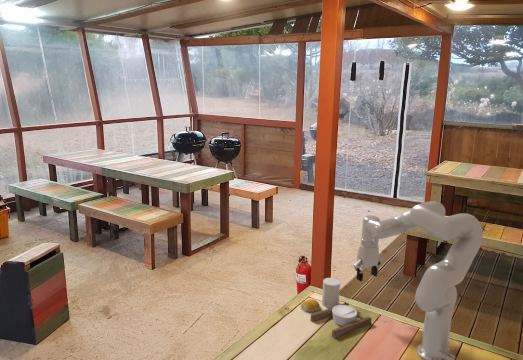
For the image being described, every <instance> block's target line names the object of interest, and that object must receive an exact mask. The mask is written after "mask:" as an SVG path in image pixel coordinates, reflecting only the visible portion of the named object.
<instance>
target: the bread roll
mask: <svg viewBox="0 0 523 360" xmlns="http://www.w3.org/2000/svg"><path fill="white" fill-rule="evenodd" d="M300 309H301V310H302V311H304V312H306V313H315V312H316V311H319V310H320V303H319V302H318V301H317V300H316V299H314V298H313V299H306V300H304V301H302V302H301V303H300Z"/></svg>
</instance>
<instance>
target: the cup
mask: <svg viewBox="0 0 523 360" xmlns="http://www.w3.org/2000/svg"><path fill="white" fill-rule="evenodd" d="M340 289H341V281H340V279H337V278H335V277H326V278H324V279H323V280H322V293H321V294H322V295H321V297H322V298H321V305H322V307H325V308H327V309H329V308H332V307H334V306H337V305H340V304H339V303H340Z"/></svg>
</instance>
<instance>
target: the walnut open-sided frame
mask: <svg viewBox="0 0 523 360" xmlns="http://www.w3.org/2000/svg"><path fill="white" fill-rule="evenodd" d="M340 305H347V306H350V304H349V303H348V302H345V303H341V304H340ZM332 308H333V307H332ZM332 308H327V309H324V310H321V311H318V312H313V313H312V314H310V322H311V323H314V322H317V321H320V320H323V319H325V318H328V317H331V316H332V317H333V313H332ZM356 318H359V319H358V320H355V322H353V323H350V324H347V325H345V326H340V327H337V328H334V329H332V332H331V337H332V338H333V339H335V338H339V337H341V336H343V335H346V334H349V333H351V332H354V331H356V330H359V329H362V328H364V327H367V326H369V325H372V317H371V316H366V317H364V316H363V315H361V314H359V313H358V312H357V316H356Z"/></svg>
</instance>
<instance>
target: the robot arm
mask: <svg viewBox="0 0 523 360" xmlns="http://www.w3.org/2000/svg"><path fill="white" fill-rule="evenodd" d="M418 229H421V230H423V231H425V232H426V233H429V234H430V235H432V236H433V237H435V238H438V239H440V240H441V241H446V242H451V241H454V242H453V244H452V245H451V247H450V248H449V251H448V252H447V255H446V256H445V258H444V259H443V260H441V261H439V262H437V263H434V264H432V265H430V266H429V267H427V269H426V271H425V272H424V274H423V275H422V278H421V281H420V282H419V284H418V286H417V289H416V291H415V293H414V294H415V295H414V300H415V304H416V305H417V307H418V308H419V309H420V310H422V312H425V317H424V324H423V332H422V340H421V343H419V345H418V346H417V348H416V352H417V355H418V356H419V357H421V358H422V359H423V360H456V356H455V355H454V354H452V353H451V348H450V347H449V340H450V339H449V338H450V335H451V334H450V331H451V325H452V318H453V313H454V310H455V307H456V302H457V299H458V292H457V288H456V286H457V285H458V284H460V283H462V281H463V280H464V279H465V277H466V275H467V273H468V272H469V269H470V267H471V265H472V264H473V262H474V259H475V257H476V255H477V254H478V252H479V250H480V248H481V246H482V244H483V238H484V233H483V228H482V225H481V223H480V221H479V220H478V219H477V217H476V216H474V215H472V214H470V213H466V212H465V213H464V212H463V213H456V214H453V215H448V216H446V208H445V206H444V205H443V203H441V202H439V201H434V200H430V201H425V202H422V203H418V204H415V205H414V206H413V207H412V208H409V209H405V210H404V211H403V212H402V214H401V215H399V216H395V217H392V218H388V219H384V220H381V218H379V216H376V215H371V214H370V215H365V216H363V218H362V228H361V241H360V245H359V246H358V251H357V256H356V262H355V263H353V267H354V271H356V280H358V281H359V282H363V278H364V273H363V272H364V270H365V269H369V268H370V267H371V271H370V275H371V276H374V277H375V278H377V276H378V269H379V268H380V267H379V266H380V265H381V261H382V259H383V258H382V257H381V256H380V249H379V247H380V246H379V241H380V240H384V239H386V238H391V237H393V236H394V237H395V236H398V235H402V234H405V233H406V232H411V231H416V230H418Z"/></svg>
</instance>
